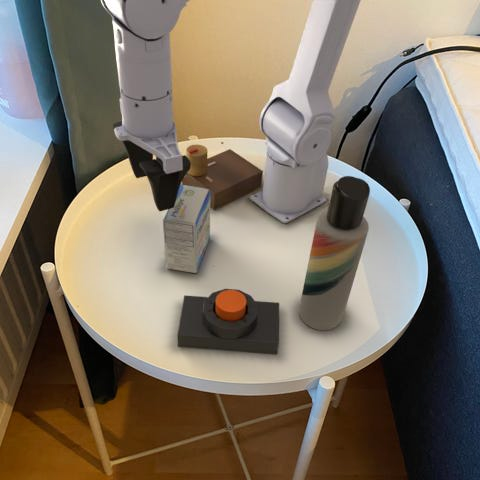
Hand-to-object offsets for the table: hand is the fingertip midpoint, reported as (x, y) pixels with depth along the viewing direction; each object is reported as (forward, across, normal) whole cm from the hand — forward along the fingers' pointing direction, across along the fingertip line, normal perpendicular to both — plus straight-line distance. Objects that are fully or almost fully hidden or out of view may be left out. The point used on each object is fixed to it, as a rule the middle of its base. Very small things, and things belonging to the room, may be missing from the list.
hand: (154, 191), depth 71 cm
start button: (+6, +18, +2) cm, 19 cm away
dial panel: (+9, -10, +14) cm, 20 cm away
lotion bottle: (+10, +21, +14) cm, 27 cm away
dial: (+6, -11, +11) cm, 17 cm away
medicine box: (+10, +3, +3) cm, 11 cm away
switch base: (+10, +18, +2) cm, 20 cm away
